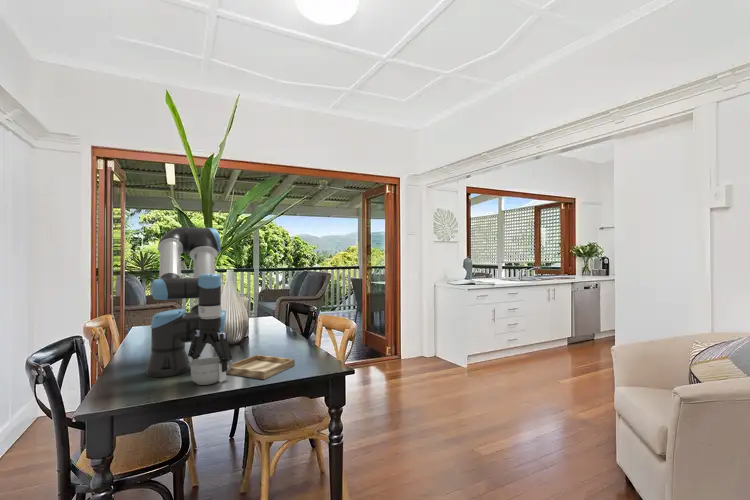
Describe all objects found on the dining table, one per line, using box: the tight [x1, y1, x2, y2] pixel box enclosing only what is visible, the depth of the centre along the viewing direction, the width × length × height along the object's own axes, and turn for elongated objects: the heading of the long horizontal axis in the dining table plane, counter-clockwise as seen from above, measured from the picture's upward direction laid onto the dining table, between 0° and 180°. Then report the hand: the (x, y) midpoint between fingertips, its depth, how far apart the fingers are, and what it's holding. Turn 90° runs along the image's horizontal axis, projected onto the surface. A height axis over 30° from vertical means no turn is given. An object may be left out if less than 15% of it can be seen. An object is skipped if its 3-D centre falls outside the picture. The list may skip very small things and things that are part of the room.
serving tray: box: [226, 354, 296, 380], centre depth 158 cm, size 19×19×2 cm
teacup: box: [190, 356, 234, 386], centre depth 143 cm, size 14×11×8 cm
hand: (209, 378), depth 144 cm, fingers closed on teacup, 11 cm apart
